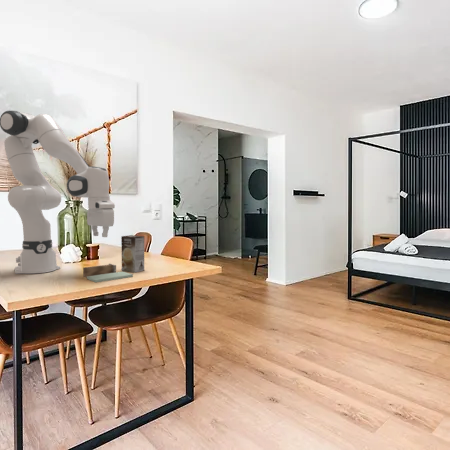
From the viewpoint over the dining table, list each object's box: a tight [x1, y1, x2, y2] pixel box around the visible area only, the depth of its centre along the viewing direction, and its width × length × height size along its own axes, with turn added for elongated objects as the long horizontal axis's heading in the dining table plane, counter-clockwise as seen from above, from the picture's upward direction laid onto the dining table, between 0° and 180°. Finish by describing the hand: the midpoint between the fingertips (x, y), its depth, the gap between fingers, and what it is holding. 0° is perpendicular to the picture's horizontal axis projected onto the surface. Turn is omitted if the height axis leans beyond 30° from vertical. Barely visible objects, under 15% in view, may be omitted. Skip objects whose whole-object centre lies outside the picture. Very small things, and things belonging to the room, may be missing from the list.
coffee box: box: [120, 234, 145, 273], centre depth 165 cm, size 9×6×16 cm
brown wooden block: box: [82, 263, 117, 279], centre depth 155 cm, size 13×6×4 cm, turn 132°
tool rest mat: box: [86, 271, 134, 283], centre depth 149 cm, size 9×16×1 cm, turn 132°
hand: (100, 236), depth 154 cm, fingers open, 8 cm apart
